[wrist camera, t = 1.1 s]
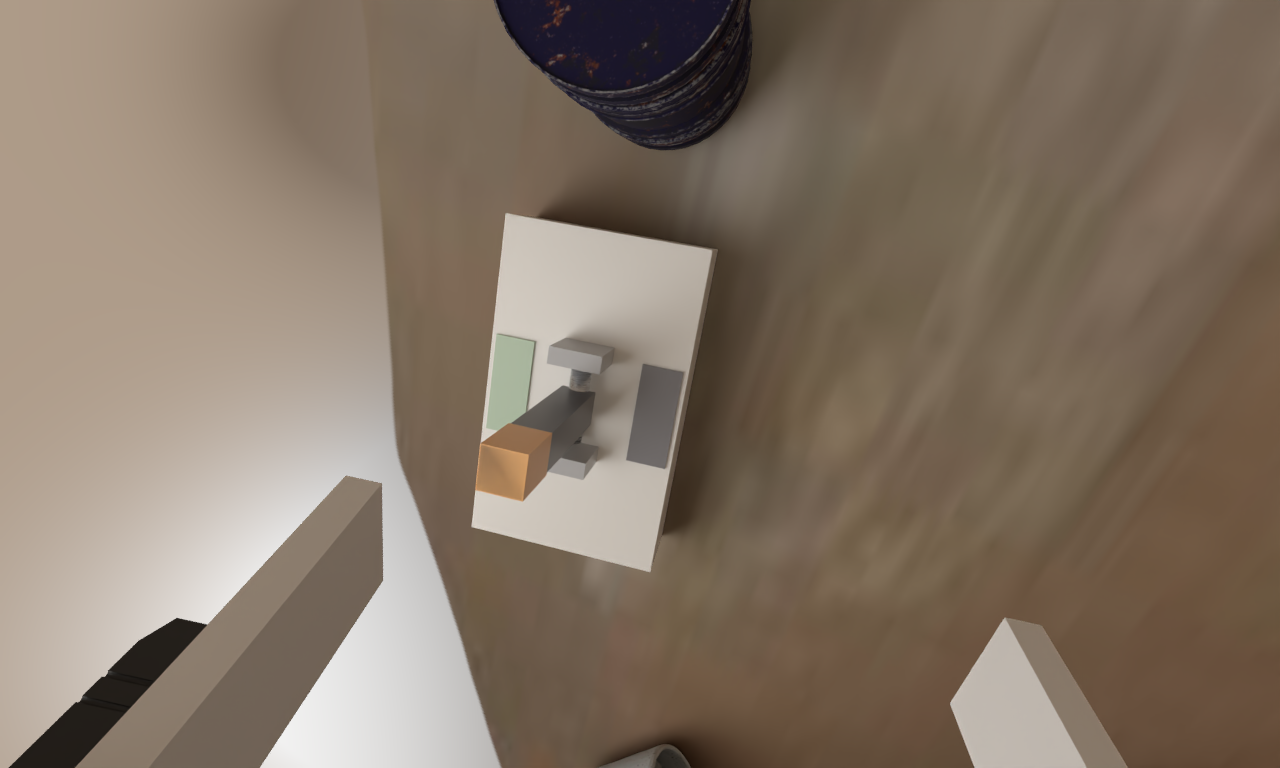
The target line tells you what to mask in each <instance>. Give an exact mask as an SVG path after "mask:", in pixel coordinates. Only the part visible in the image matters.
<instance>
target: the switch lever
mask: <svg viewBox="0 0 1280 768" xmlns="http://www.w3.org/2000/svg"><path fill="white" fill-rule="evenodd" d="M591 376H592V373H589V372H584V371H579V370H575V369H571V375H570V382H569V387H568V386H563V385H562V386H561V387H560V388H558V389H557V390H556V391H554V392H553V393H551V394H550V395H549V396H547V397H546V398H545V399H543V400H542V401H541V402H539V403H538V404H536V405H535V406H534V407H532V408H531V409H530V410H528V411H527V412H526V413H524V414H523V415H521V416H520V417H519V418H517V419H516V420H515V421H513V422H512V423H508V424H507V425H505V426H504V427H502V428H501V429H500V430H498V431H497V432H496V433H494V434H493V435H491V436H490V437H489V438H487V439H486V440H485V441H483V442H482V443H480V452H479V461H478V470H477V480H476V489H475V490H477V491H481V492H485V493H489V494H493V495H497V496H501V497H505V498H509V499H514V500H518V501H522V502H523V501H524V500H525V499H526V497H527V496H528V495H529V494H530V493H531V492H532V491H533V490H534V489H535V488H536V486H537V485H538V484H539V483H540V482H541V481H542V480H543V479H544V478H545V476H546V475H547V472H548V471H549V470H550V469H551V468H552V467H553V465H554V464H555V463H556V462H557V461H558V460H559V459H560V458H561V457H562V456H563V455H564V453H565V452H566V451H567V450H568V449H569V448H570V447H571V446H572V445H573V444H579V443H581V442H582V435H583V433H584V432H585V430H586V429H587V428H588V427H589V426H590V425H591V419H592V412H593V406H594V400H595V393H596V392H591V391H589V389H590V383H591Z"/></svg>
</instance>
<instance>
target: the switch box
mask: <svg viewBox="0 0 1280 768" xmlns="http://www.w3.org/2000/svg"><path fill="white" fill-rule="evenodd" d="M717 253H718V249H714V248H709V247H703V246H697V245H692V244H686V243H680V242H675V241H669V240H663V239H658V238H652V237H646V236H641V235H635V234H629V233H624V232H618V231H612V230H607V229H601V228H596V227H590V226H584V225H579V224H573V223H567V222H562V221H556V220H550V219H545V218H539V217H532V216H524V215H515V214H507V213H506V216H505V225H504V235H503V244H502V253H501V262H500V271H499V281H498V290H497V299H496V308H495V317H494V327H493V336H492V345H491V354H490V363H489V372H488V382H487V391H486V400H485V409H484V418H483V428H482V437H481V443H482V442H483V441H485V440H486V439H487V438H489V437H490V436H491V435H493V434H494V433H496V432H497V431H498V430H500V429H501V428H502V427H504V426H505V425H507V424H508V423H512V422H513V421H515V420H516V419H517V418H519V417H520V416H521V415H523V414H524V413H526V412H527V411H528V410H530V409H531V408H532V407H534V406H535V405H536V404H538V403H539V402H541V401H542V400H543V399H545V398H546V397H547V396H549V395H550V394H551V393H553V392H554V391H556V390H557V389H558V388H560V387H561V386H562V385H563V386H568V387H569V382H570V375H571V369H575V370H579V371H584V372H589V373H592V376H591V383H590V389H589V391H591V392H596V393H595V400H594V406H593V412H592V419H591V425H590V426H589V427H588V428H587V429H586V430H585V432H584V433H583V435H582V442H581V443H579V444H573V445H572V446H571V447H570V448H569V449H568V450H567V451H566V452H565V453H564V455H563V456H562V457H561V458H560V459H559V460H558V461H557V462H556V463H555V464H554V465H553V467H552V468H551V469H550V470H549V471H548V472H547V475H546V476H545V478H544V479H543V480H542V481H541V482H540V483H539V484H538V485H537V486H536V488H535V489H534V490H533V491H532V492H531V493H530V494H529V495H528V496H527V497H526V499H525V500H524V501H523V502H522V501H518V500H514V499H509V498H505V497H501V496H497V495H493V494H489V493H485V492H481V491H477V490H476V492H475V501H474V510H473V519H472V527H475V528H478V529H482V530H486V531H490V532H494V533H498V534H502V535H506V536H510V537H514V538H518V539H522V540H526V541H530V542H534V543H538V544H541V545H545V546H549V547H553V548H557V549H561V550H565V551H569V552H573V553H577V554H581V555H585V556H589V557H593V558H597V559H601V560H605V561H608V562H612V563H616V564H620V565H624V566H628V567H632V568H636V569H640V570H644V571H648V572H650V571H651V568H652V565H653V562H654V559H655V556H656V553H657V550H658V546H659V543H660V540H661V537H662V533H663V528H664V523H665V518H666V513H667V508H668V503H669V497H670V492H671V487H672V482H673V477H674V472H675V467H676V462H677V457H678V452H679V446H680V441H681V436H682V431H683V426H684V421H685V416H686V411H687V406H688V401H689V395H690V390H691V385H692V380H693V375H694V370H695V365H696V360H697V355H698V350H699V345H700V339H701V334H702V329H703V324H704V319H705V314H706V309H707V304H708V299H709V294H710V288H711V283H712V278H713V273H714V268H715V263H716V258H717Z"/></svg>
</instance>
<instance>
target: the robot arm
mask: <svg viewBox="0 0 1280 768" xmlns="http://www.w3.org/2000/svg"><path fill="white" fill-rule="evenodd" d="M382 542H383V539H382V483H378V482H373V481H368V480H363V479H359V478H354V477H350V476H345V477H344V478H343V480H342V481H341V482H340V483H339V484H338V485H337V486H336V487H335V488H334V489H333V490H332V491H331V492H330V493H329V495H328V496H327V497H326V498H325V499H324V500H323V501H322V502H321V503H320V504H319V505H318V506H317V508H316V509H315V510H314V511H313V512H312V513H311V514H310V515H309V516H308V517H307V518H306V519H305V520H304V521H303V523H302V524H301V525H300V526H299V527H298V528H297V529H296V530H295V531H294V532H293V533H292V534H291V536H290V537H289V538H288V539H287V540H286V541H285V542H284V543H283V544H282V545H281V546H280V547H279V548H278V549H277V551H276V552H275V553H274V554H273V555H272V556H271V557H270V558H269V559H268V560H267V561H266V562H265V564H264V565H263V566H262V567H261V568H260V569H259V570H258V571H257V572H256V573H255V574H254V575H253V577H252V578H251V579H250V580H249V581H248V582H247V583H246V584H245V585H244V586H243V587H242V588H241V589H240V591H239V592H238V593H237V594H236V595H235V596H234V597H233V598H232V599H231V600H230V601H229V603H227V604H226V606H225V607H224V608H223V609H222V610H221V611H220V612H219V613H218V614H217V615H216V616H215V617H214V618H213V620H212V621H211V622H210V623H209V624H208V625H206V624H202V623H197V622H193V621H188V620H183V619H179V618H176V619H174V620H173V621H171V622H169V623H168V624H166V625H165V626H163V627H161V628H159V629H158V630H156V631H154V632H153V633H151V634H150V635H148V636H146V637H144V638H143V639H141V640H139V641H138V642H137V643H136V644H135V645H134V646H133V647H132V648H131V649H130V650H129V651H128V652H127V653H126V654H125V655H124V656H123V657H122V658H121V659H120V660H119V661H118V662H117V663H115V664H114V666H112V668H111V669H110V670H108V674H107V675H106V676H105V677H101V678H100V679H99V680H98V681H97V682H96V683H95V684H94V685H93V686H92V687H91V688H90V689H89V690H88V691H87V692H86V693H85V694H84V695H83V696H82V699H81V701H80V702H78V703H77V702H76V703H75V704H74V705H73V706H71V707H70V708H69V710H67V711H66V712H65V713H64V714H63V715H62V716H61V717H60V718H59V719H58V720H57V721H56V722H55V723H54V724H53V725H52V726H51V727H50V728H49V729H48V730H47V731H46V732H45V733H44V734H43V735H42V736H41V737H40V738H39V739H38V740H37V741H36V742H35V743H34V744H32V746H31V747H29V748H28V749H27V750H26V751H25V752H24V753H23V754H22V755H21V756H20V757H19V758H18V759H17V760H16V761H15V762H14V763H13V764H12V765H11V766H10V767H9V768H260V766H261V765H262V763H263V762H264V760H265V759H266V757H267V756H268V754H269V753H270V751H271V750H272V748H273V747H274V745H275V743H276V742H277V740H278V739H279V737H280V736H281V734H282V733H283V731H284V730H285V728H286V727H287V725H288V724H289V722H290V721H291V719H292V718H293V716H294V715H295V713H296V712H297V710H298V709H299V707H300V706H301V704H302V702H303V701H304V700H305V698H306V696H307V694H308V693H309V692H310V690H311V689H312V687H313V686H314V684H315V683H316V681H317V680H318V678H319V677H320V675H321V674H322V672H323V670H324V669H325V668H326V666H327V665H328V663H329V662H330V660H331V659H332V657H333V655H334V654H335V652H336V651H337V649H338V648H339V646H340V645H341V643H342V642H343V640H344V639H345V637H346V636H347V634H348V633H349V631H350V629H351V628H352V627H353V625H354V624H355V622H356V621H357V619H358V617H359V616H360V614H361V613H362V611H363V610H364V608H365V607H366V605H367V604H368V602H369V601H370V599H371V598H372V596H373V595H374V593H375V592H376V590H377V588H378V587H379V586H380V584H381V583H382V581H383V543H382ZM950 705H951V707H952V710H953V713H954V715H955V718H956V721H957V723H958V726H959V728H960V731H961V734H962V736H963V739H964V741H965V744H966V747H967V749H968V752H969V754H970V757H971V760H972V762H973V765H974V768H1128V767H1127V765H1126V764H1125V762H1124V760H1123V759H1122V757H1121V756H1120V754H1119V752H1118V751H1117V749H1116V747H1115V746H1114V744H1113V742H1112V741H1111V739H1110V737H1109V736H1108V734H1107V732H1106V731H1105V729H1104V728H1103V726H1102V724H1101V723H1100V721H1099V719H1098V718H1097V716H1096V714H1095V713H1094V711H1093V709H1092V708H1091V706H1090V704H1089V703H1088V701H1087V699H1086V698H1085V696H1084V695H1083V693H1082V691H1081V690H1080V688H1079V686H1078V685H1077V683H1076V681H1075V680H1074V678H1073V676H1072V675H1071V673H1070V671H1069V670H1068V668H1067V666H1066V665H1065V663H1064V662H1063V660H1062V658H1061V657H1060V655H1059V653H1058V652H1057V650H1056V648H1055V647H1054V645H1053V643H1052V642H1051V640H1050V638H1049V637H1048V635H1047V634H1046V632H1045V630H1044V629H1043V627H1042V625H1038V624H1033V623H1028V622H1024V621H1019V620H1014V619H1010V618H1004V619H1003V621H1002V622H1001V624H1000V626H999V627H998V629H997V630H996V632H995V633H994V635H993V637H992V638H991V640H990V641H989V643H988V644H987V646H986V648H985V649H984V651H983V652H982V654H981V655H980V657H979V659H978V660H977V662H976V663H975V665H974V666H973V668H972V670H971V671H970V673H969V674H968V676H967V677H966V679H965V681H964V682H963V684H962V685H961V687H960V688H959V690H958V692H957V693H956V695H955V696H954V698H953V699H952V701H951V703H950Z"/></svg>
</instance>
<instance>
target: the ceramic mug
mask: <svg viewBox="0 0 1280 768" xmlns="http://www.w3.org/2000/svg"><path fill="white" fill-rule="evenodd" d="M598 768H691V767H690V765H689V763H688V761H687V760H686V758H685V757H684V755H683V754H682V753H681V752H680V751H679V750H678V749H677V748H676V747H674V746H672V745H670V744H662V745H658V746H656V747H653V748H651V749H649V750H646V751H642V752H639V753H636V754H634V755H631V756H628V757H626V758H623V759H621V760H618V761H615V762H613V763H609V764H606V765H603V766H600V767H598Z"/></svg>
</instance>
